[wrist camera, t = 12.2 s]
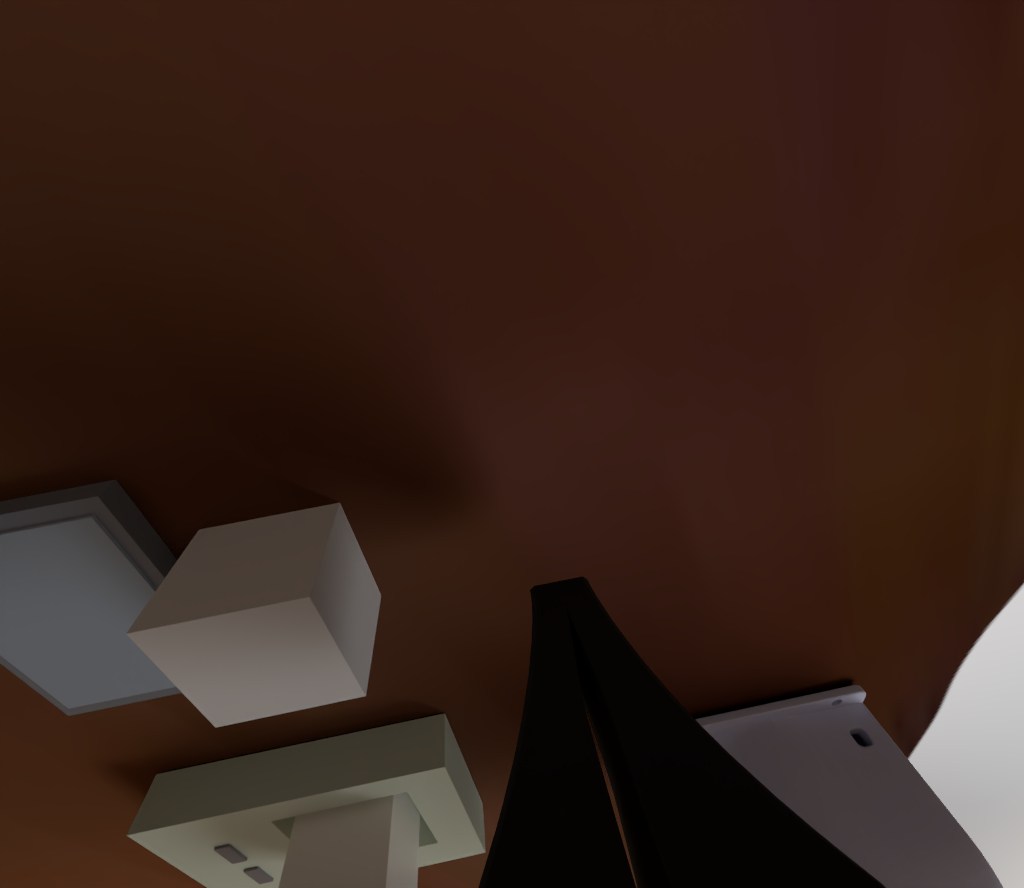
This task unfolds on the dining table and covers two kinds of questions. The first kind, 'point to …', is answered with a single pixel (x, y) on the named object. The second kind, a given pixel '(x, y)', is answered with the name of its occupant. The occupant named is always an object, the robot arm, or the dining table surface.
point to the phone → (79, 596)
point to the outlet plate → (308, 801)
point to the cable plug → (265, 617)
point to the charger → (355, 846)
